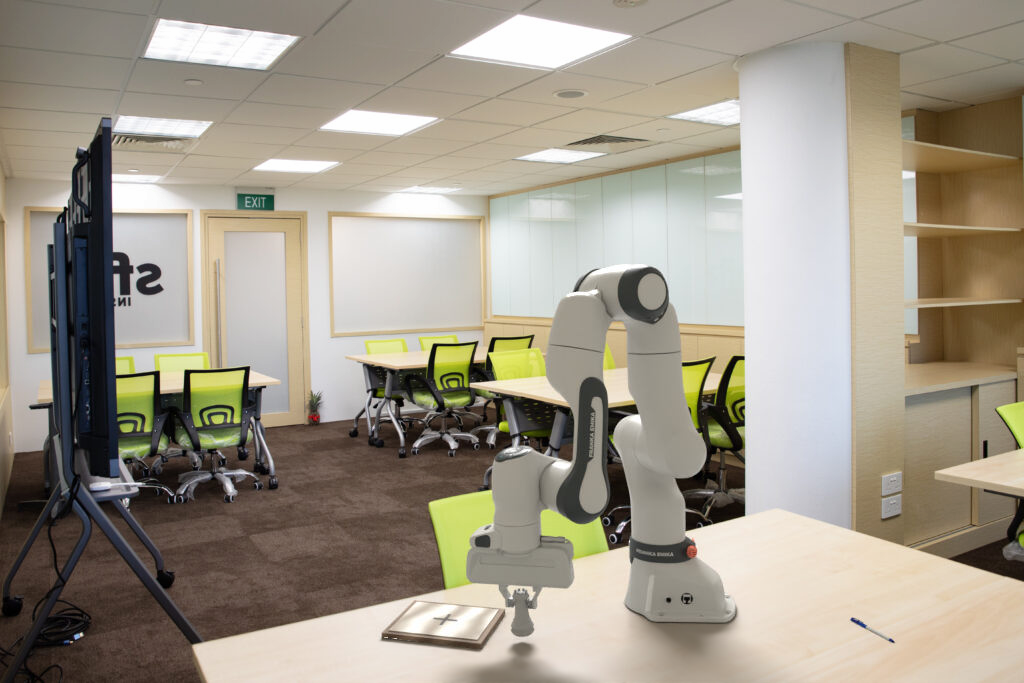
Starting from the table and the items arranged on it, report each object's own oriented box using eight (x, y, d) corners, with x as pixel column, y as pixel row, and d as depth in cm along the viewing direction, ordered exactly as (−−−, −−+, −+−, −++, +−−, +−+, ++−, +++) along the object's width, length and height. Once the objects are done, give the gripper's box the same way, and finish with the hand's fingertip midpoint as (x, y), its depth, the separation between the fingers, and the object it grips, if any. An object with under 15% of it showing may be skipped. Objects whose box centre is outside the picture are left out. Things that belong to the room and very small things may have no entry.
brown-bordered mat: (505, 613, 155) (505, 607, 155) (481, 648, 140) (480, 642, 140) (414, 604, 161) (414, 599, 161) (381, 637, 145) (381, 631, 145)
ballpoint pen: (848, 621, 149) (848, 616, 149) (852, 620, 149) (852, 615, 149) (892, 644, 139) (892, 638, 139) (896, 643, 139) (896, 637, 139)
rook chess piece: (510, 627, 145) (507, 587, 144) (533, 625, 145) (531, 585, 144) (511, 638, 140) (509, 596, 139) (535, 636, 140) (533, 594, 140)
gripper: (576, 531, 141) (579, 603, 142) (471, 527, 147) (475, 597, 148) (569, 542, 135) (573, 618, 136) (461, 538, 141) (465, 610, 142)
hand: (521, 607), depth 142 cm, fingers closed on rook chess piece, 3 cm apart
